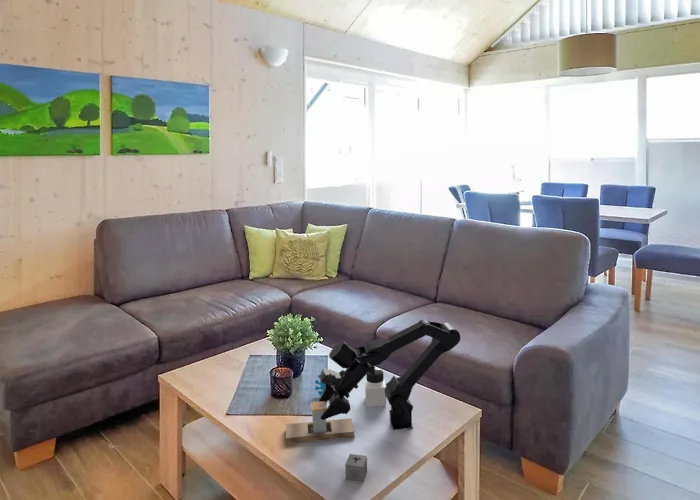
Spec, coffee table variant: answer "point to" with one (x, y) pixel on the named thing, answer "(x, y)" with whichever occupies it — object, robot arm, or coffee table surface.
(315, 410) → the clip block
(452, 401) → the coffee table surface
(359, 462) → the grey marked cube
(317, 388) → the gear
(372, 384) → the medicine bottle
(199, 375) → the coffee table surface
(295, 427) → the wooden socket base
